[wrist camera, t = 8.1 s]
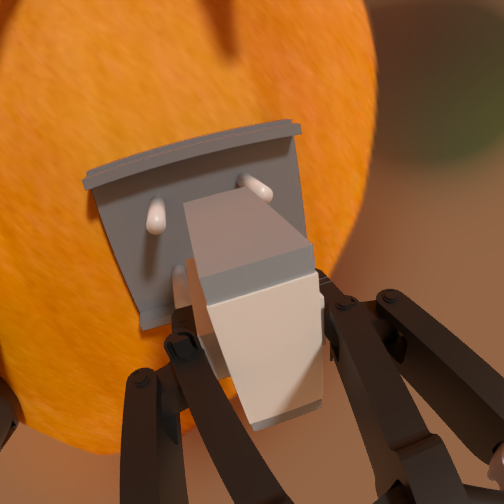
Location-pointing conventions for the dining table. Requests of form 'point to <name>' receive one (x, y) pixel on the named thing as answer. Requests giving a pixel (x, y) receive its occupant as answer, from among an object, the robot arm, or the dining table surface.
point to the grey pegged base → (184, 190)
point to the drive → (260, 303)
